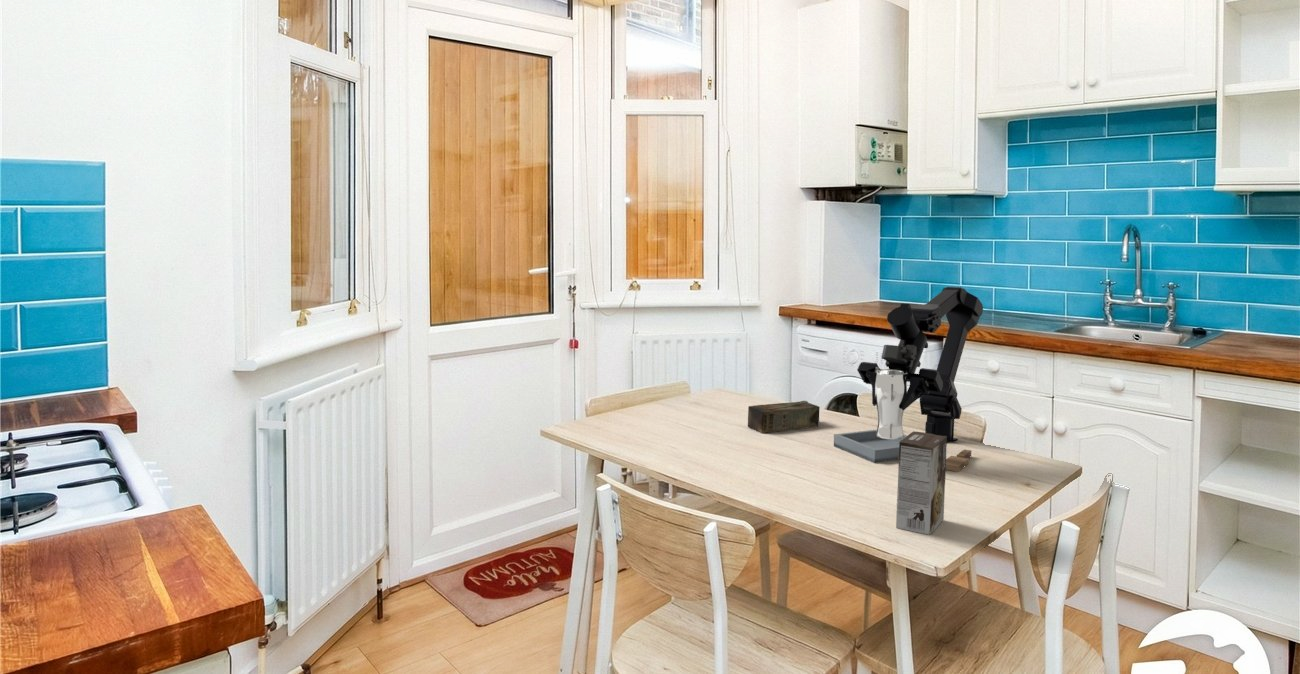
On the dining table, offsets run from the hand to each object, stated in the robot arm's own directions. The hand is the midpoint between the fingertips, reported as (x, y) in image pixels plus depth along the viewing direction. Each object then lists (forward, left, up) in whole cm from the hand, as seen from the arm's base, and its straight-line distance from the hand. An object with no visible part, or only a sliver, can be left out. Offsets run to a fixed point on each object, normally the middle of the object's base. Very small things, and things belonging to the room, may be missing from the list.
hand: (887, 406), depth 180 cm
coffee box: (+18, +33, -14) cm, 40 cm away
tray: (-7, -10, -14) cm, 18 cm away
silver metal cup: (-1, -1, -7) cm, 7 cm away
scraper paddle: (-16, +6, -14) cm, 21 cm away
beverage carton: (+2, -40, -14) cm, 43 cm away
